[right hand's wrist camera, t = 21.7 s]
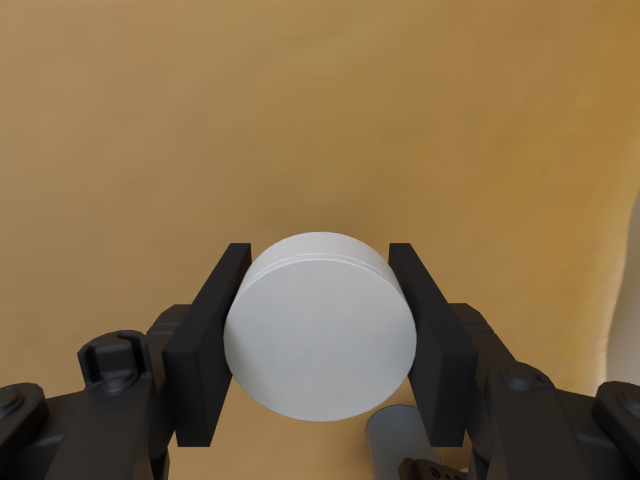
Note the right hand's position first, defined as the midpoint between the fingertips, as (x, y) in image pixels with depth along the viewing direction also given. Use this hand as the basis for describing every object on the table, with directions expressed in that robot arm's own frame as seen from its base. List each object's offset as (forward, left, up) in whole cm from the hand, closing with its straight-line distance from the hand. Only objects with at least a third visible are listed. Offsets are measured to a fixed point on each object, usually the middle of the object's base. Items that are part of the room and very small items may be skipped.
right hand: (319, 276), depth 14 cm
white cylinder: (0, 0, +4) cm, 4 cm away
